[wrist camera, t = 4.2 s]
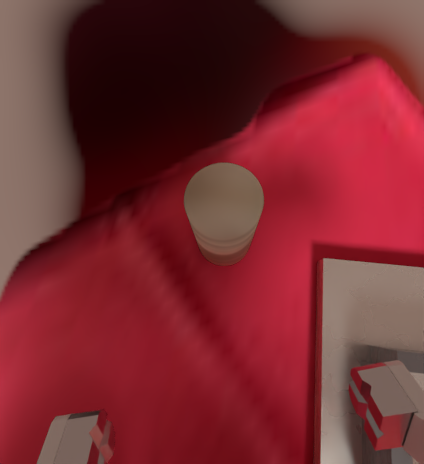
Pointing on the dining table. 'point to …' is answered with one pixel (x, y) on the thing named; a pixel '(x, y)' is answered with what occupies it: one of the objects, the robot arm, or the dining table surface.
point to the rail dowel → (224, 211)
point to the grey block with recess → (362, 349)
